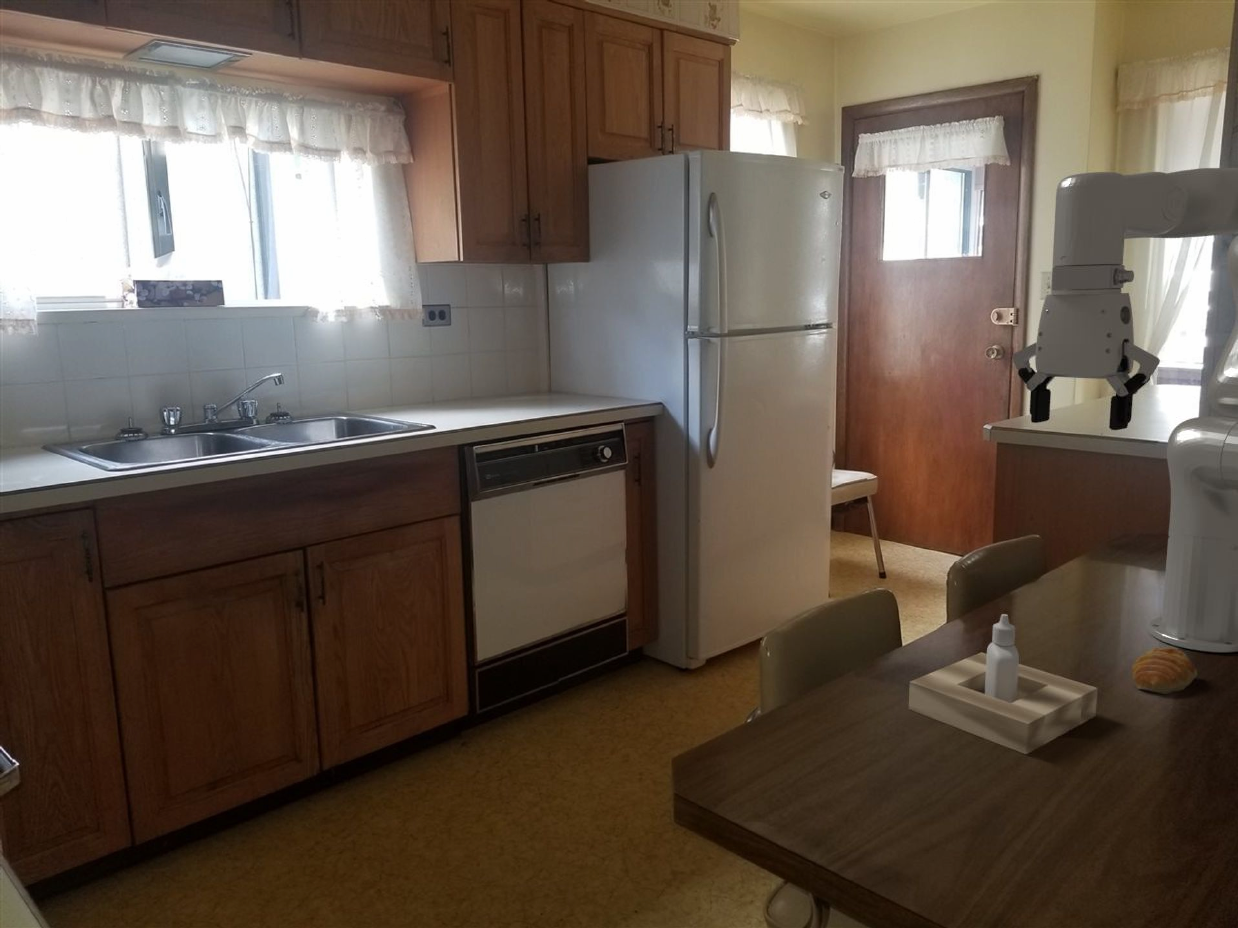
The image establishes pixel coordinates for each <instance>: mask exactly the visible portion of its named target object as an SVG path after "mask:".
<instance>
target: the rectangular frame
mask: <svg viewBox="0 0 1238 928" xmlns="http://www.w3.org/2000/svg"><path fill="white" fill-rule="evenodd" d="M986 658H987V653H985V652H979V653H977V654H974V655H970V656H969V657H966V658H964V659H962V660H959V661H957V662H954V663H952V664H950V665H946V666H944V667H942V668H940V669H937V670H935V671H932V672H930V673H928V674H925V675H922V676H920V677H918V678H915V679H913V680H911V681H909V691H908V710H910V711H913V712H915V713H918V714H920V715H923V716H926V717H928V718H931V719H933V720H935V721H938V722H941V723H944V724H946V725H949V726H951V727H954V728H956V729H959V730H961V731H964V732H967V733H970V734H972V735H975V736H977V737H979V738H981V739H985V740H987V741H989V742H993V743H996V744H998V745H1001V746H1003V747H1006V748H1009V749H1011V750H1014V751H1016V752H1019V753H1021V754H1024V755H1028V754H1029V753H1031V752H1033V751H1036V750H1037V749H1039V748H1040V747H1043V746H1045V745H1046V744H1047V743H1050V742H1052V741H1053V740H1055V739H1057V738H1059V737H1061V736H1062V735H1064V734H1066V733H1068V732H1070V731H1072V730H1074V728H1077V727H1079V726H1080V725H1082V724H1084V723H1086V722H1088V721H1089V719H1090V720H1091V719H1094V718H1095V717H1096V715H1097V701H1098V687H1095V686H1092V685H1090V684H1089V685H1088V684H1086V683H1082V682H1079V681H1075V680H1073V679H1069V678H1067V677H1063V676H1060V675H1057V674H1053V673H1049V672H1046V671H1044V670H1041V669H1037V668H1034V667H1031V666H1028V665H1027V666H1026V665H1024V664H1021V663H1019V666H1018V685H1017V701H1015V702H1013V703H1009V702H1006V701H1003V700H1000V699H997V698H994V697H991V696H989V695H986V694H985V678H986ZM1078 725H1079V726H1078ZM1069 730H1070V731H1069ZM1058 736H1059V737H1058ZM1056 737H1057V738H1056Z"/></svg>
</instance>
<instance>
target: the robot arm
mask: <svg viewBox="0 0 1238 928" xmlns="http://www.w3.org/2000/svg"><path fill="white" fill-rule="evenodd" d="M1055 193H1056V194H1055V209H1054V210H1055V211H1054V227H1053V229H1054V231H1053V245H1052V246H1053V247H1052V248H1053V249H1052V251H1053V253H1052V268H1051V269H1052V270H1051V286H1050V287H1051V288H1050V290H1051V291H1050V294H1046V295H1045V299H1044V300H1043V305H1042V309H1041V313H1040V316H1039V317H1040V318H1039V323H1038V330H1037V336H1036V341H1035V342H1034V343H1032V344H1030V345H1028V346H1026V347H1024V348H1023V349H1020V350H1019V351H1017V352H1015V353H1013V354H1012V355H1011V356H1012V361H1013V363H1014V366H1015V369H1016V370H1017V373H1018V374H1017V375H1018V377H1019V378H1020V379H1021V380H1022V381H1023V382H1024V384H1025V386H1026V389H1027V390H1028V391H1030V394H1029V395H1030V396H1029V397H1030V398H1029V414H1030V416H1031V417H1030V421H1031V423H1033V424H1034V423H1035V424H1038V423H1045V422H1047V421H1050V417H1051V415H1050V414H1051V398H1052V397H1051V396H1052V392H1051V389H1050V388H1047V387H1048V385H1050V383H1051V382H1052V381H1053V380H1054V379H1055V377H1057V378H1072V379H1073V378H1074V379H1075V378H1076V379H1095V380H1097V379H1098V380H1103V379H1105V380H1106V381H1107V382H1108V384H1109V385H1110V387H1111V388H1112V389H1113V390H1114V391H1115V395H1112V396H1111V398H1110V409H1109V410H1110V411H1109V427H1108V428H1109V429H1110V430H1111V431H1120V430H1124V429H1127V428H1128V426H1129V423H1131V421H1132V413H1133V412H1132V411H1133V397H1134V395H1136V394H1137V393H1138V392H1139V390H1140V389H1142V388H1143V387H1144V386H1145V385H1146V384H1147V383H1149V381H1150V379H1151V376H1152V375H1153V374H1154V373H1155V371H1156V370H1157V368H1158V366H1159V364H1160V363H1161V360H1160V358H1159V357H1158V356H1156V355H1154V354H1152V353H1150V352H1148V351H1147V350H1144V349H1142V348H1141V347H1139V346H1137V345H1136V344H1135V337H1134V336H1135V335H1134V334H1135V333H1134V331H1135V329H1134V319H1133V310H1132V308H1133V307H1132V303H1131V297H1130V293H1129V292H1122V289H1123V288H1124V284H1126V283H1133V281H1134V279H1135V272H1134V271H1133V270H1130V269H1129V270H1127V269H1125V268H1126V267H1125V265H1123V264H1124V253H1125V251H1124V250H1125V240H1126V239H1127V240H1128V239H1142V238H1143V239H1145V238H1146V239H1150V238H1151V239H1152V238H1153V239H1154V238H1155V239H1182V238H1197V237H1198V238H1200V237H1202V238H1203V237H1211V236H1223V235H1236V234H1238V167H1202V168H1193V169H1186V170H1185V169H1184V170H1179V171H1171V172H1162V171H1150V172H1147V171H1146V172H1141V173H1131V174H1121V173H1119V172H1111V171H1100V172H1099V171H1097V172H1096V171H1094V172H1085V173H1077V174H1072V175H1068V176H1065V177H1064V178H1063V179H1061V180H1060V182H1059V183H1058V184H1057V188H1056V192H1055ZM1226 269H1227V273H1228V279H1229V282H1230V286H1231V289H1232V294H1233V298H1234V303H1235V309H1236V311H1235V312H1236V314H1235V315H1236V316H1235V322H1234V325H1233V328H1232V330H1231V332H1230V335H1229V338H1228V340H1227V342H1226V344H1225V346H1224V348H1223V350H1222V353H1221V355H1220V357H1219V359H1218V361H1217V364H1216V366H1215V368H1214V370H1213V372H1212V375H1211V378H1210V380H1209V383H1208V385H1207V386H1208V387H1207V390H1206V394H1207V395H1206V396H1207V399H1206V400H1207V402H1208V404H1209V406H1211V408H1212V409H1213V410H1214V411H1216V412H1218V413H1220V414H1222V415H1225V416H1229V417H1220V416H1199V417H1191V418H1189V419H1186V420H1184V421H1182V422H1180V423H1179V424H1177V426H1176V427H1174V429H1173V430H1172V431H1171V433H1170V434H1169V437H1168V440H1167V445H1166V457H1167V458H1166V459H1167V461H1166V462H1167V467H1168V474H1169V482H1170V512H1169V515H1170V516H1169V525H1168V538H1167V551H1166V552H1167V553H1166V561H1165V574H1164V575H1165V576H1164V588H1163V601H1162V613H1161V616H1159V617H1156V618H1153V619H1152V620H1150V621H1149V624H1148V632H1149V634H1150V635H1152V636H1153V637H1154V638H1156V639H1157V640H1159V641H1161V642H1164V643H1167V644H1169V645H1172V646H1175V647H1180V648H1184V649H1188V650H1192V651H1200V652H1207V653H1235V652H1237V653H1238V235H1237V236H1235V237H1234V238H1233V239H1232V241H1231V242H1230V244H1229V247H1228V249H1227V253H1226ZM1033 357H1035V359H1034V361H1035V362H1034V363H1035V368H1036V371H1035V370H1034V368H1033V367H1031V363H1030V359H1032V358H1033ZM1134 361H1135V362H1136V363H1138V365H1139V368H1138V370H1137V372H1136V373H1135V374H1133V376H1130V374H1131V373H1132V371H1133V369H1134ZM1233 417H1235V418H1233Z"/></svg>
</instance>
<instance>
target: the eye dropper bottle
mask: <svg viewBox="0 0 1238 928" xmlns="http://www.w3.org/2000/svg"><path fill="white" fill-rule="evenodd" d="M1015 638H1016V626H1014V625H1013V624H1011V623H1010V621H1009V615H1008V614H1007V613H1002V614H1001V615H1000V619H999V622H997V623H994V624H993V625H992V639H991V640H992V641H991V642H990V643H989V644H988V646H987V648H986V654H987V658H986V678H985V694H986V695H989V696H991V697H994V698H997V699H1000V700H1003V701H1006V702H1009V703H1013V702H1015V701H1017V685H1018V666H1019V664H1020V663H1019V661H1020V657H1019V656H1020V655H1019V651H1018V649H1017V647H1016V646H1015Z"/></svg>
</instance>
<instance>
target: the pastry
mask: <svg viewBox="0 0 1238 928" xmlns="http://www.w3.org/2000/svg"><path fill="white" fill-rule="evenodd" d="M1131 669H1132V680H1133V681H1132V682H1133V685H1134V687H1136V688H1137V690H1147V691H1151V692H1154V693H1159V694H1164V695H1168V694H1170V693H1174V692H1175V693H1176V692H1180V691H1183V690H1185V688H1186V687H1188V686H1190V685H1191V684H1192V683H1193V681H1194V679H1195V678H1196V676H1197V675H1198V671H1197V670H1196V669H1195V666H1194V664H1193V663H1192V662H1191V660H1190V659H1189V657H1188V655H1187V654H1185V652H1183V651H1181V650H1180V649H1177V648H1172V647H1170V646H1169V647H1161V648H1158V647H1153V648H1152V649H1150V650H1148V651H1146V653H1144V654H1142V655H1141V656H1139V657H1138V658H1137V659H1135V662H1134V663H1133V664H1132V667H1131Z"/></svg>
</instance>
